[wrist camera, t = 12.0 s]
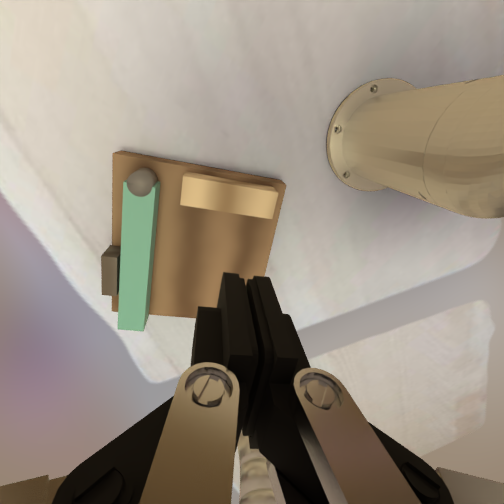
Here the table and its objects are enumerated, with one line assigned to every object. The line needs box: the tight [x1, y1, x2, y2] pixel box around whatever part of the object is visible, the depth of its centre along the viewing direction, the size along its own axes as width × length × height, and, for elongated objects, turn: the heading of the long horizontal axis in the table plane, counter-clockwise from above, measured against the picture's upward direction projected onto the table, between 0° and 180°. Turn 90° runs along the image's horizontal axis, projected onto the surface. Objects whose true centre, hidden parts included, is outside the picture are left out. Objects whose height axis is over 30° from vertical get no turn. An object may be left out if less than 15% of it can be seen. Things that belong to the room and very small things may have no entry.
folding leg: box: [118, 168, 160, 331], centre depth 33 cm, size 19×3×3 cm, turn 168°
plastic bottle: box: [237, 430, 277, 504], centre depth 44 cm, size 6×7×20 cm
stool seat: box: [101, 151, 286, 318], centre depth 35 cm, size 19×20×6 cm
